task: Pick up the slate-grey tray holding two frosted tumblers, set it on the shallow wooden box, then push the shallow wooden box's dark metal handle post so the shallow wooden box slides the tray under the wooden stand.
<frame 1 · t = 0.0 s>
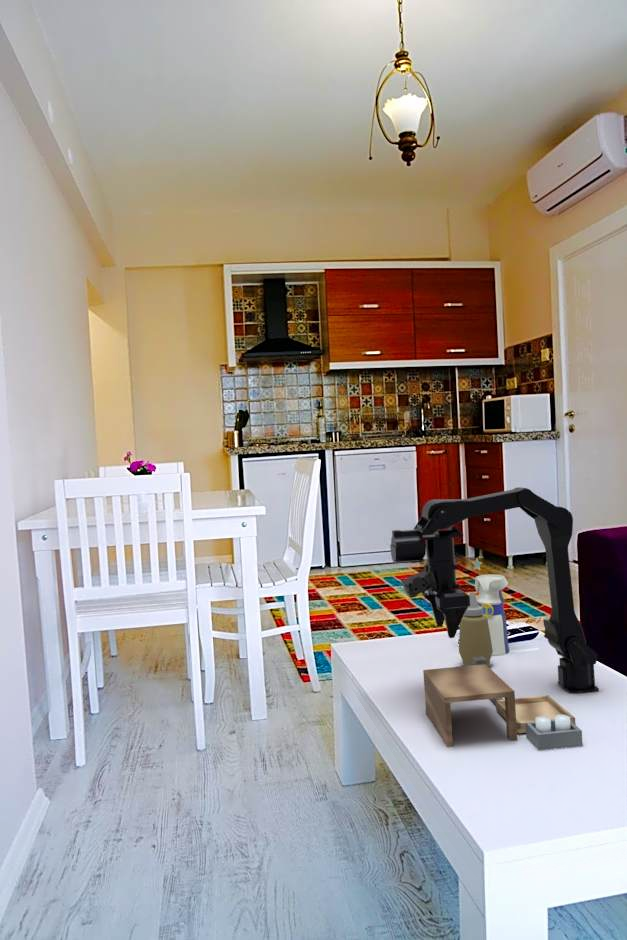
hand: (445, 631, 146), 15 cm above the table, fingers open, 9 cm apart
shallow wooden box: (518, 689, 141), point 3 cm above the table, slide at 0.0 cm
tray: (554, 742, 123), on the table
squeeze bottle: (476, 666, 167), on the table
spray bottle: (494, 652, 178), on the table
wooden stand: (469, 726, 132), on the table
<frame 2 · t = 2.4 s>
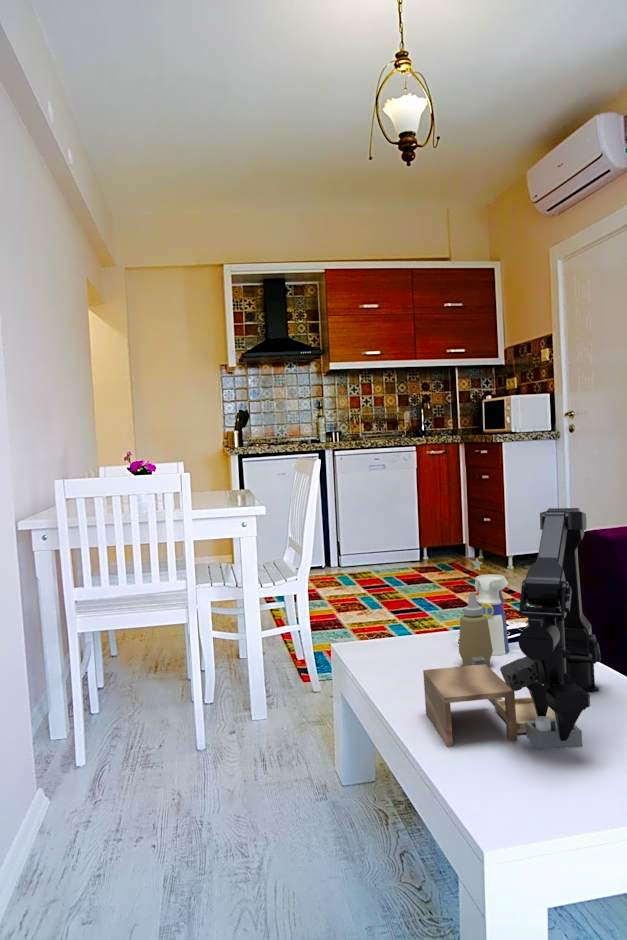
hand: (552, 729, 123), 2 cm above the table, fingers open, 9 cm apart
shallow wooden box: (517, 689, 141), point 3 cm above the table, slide at 0.2 cm, touching gripper
everything else where it was.
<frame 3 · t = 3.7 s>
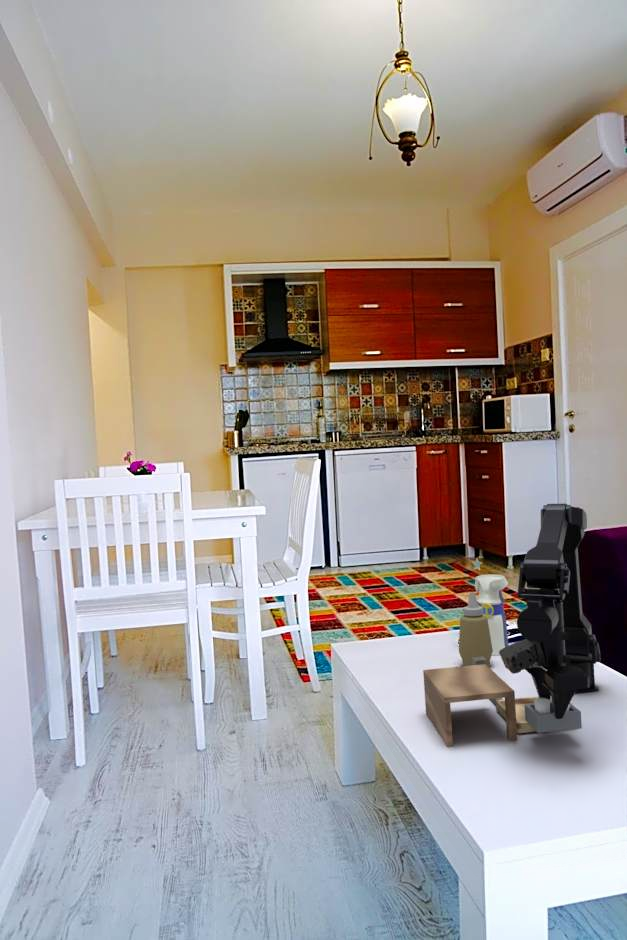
hand: (551, 712, 123), 5 cm above the table, fingers closed on tray, 6 cm apart
shallow wooden box: (518, 689, 141), point 3 cm above the table, slide at 0.0 cm
tray: (553, 724, 123), point 3 cm above the table, touching gripper
everything else where it was.
when the fingers open (4 cm above the table, at t = 6.2 s): tray stays where it is, resting on shallow wooden box.
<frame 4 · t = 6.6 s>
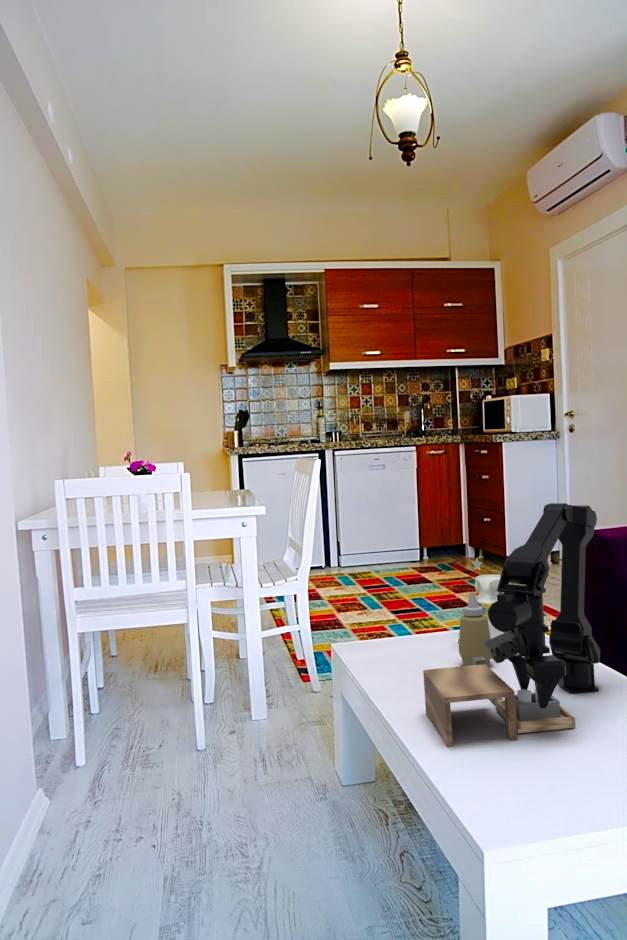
hand: (533, 699, 133), 4 cm above the table, fingers open, 9 cm apart
shallow wooden box: (518, 689, 141), point 3 cm above the table, slide at 0.0 cm, touching tray
tray: (534, 713, 133), point 1 cm above the table, touching shallow wooden box
everything else where it was.
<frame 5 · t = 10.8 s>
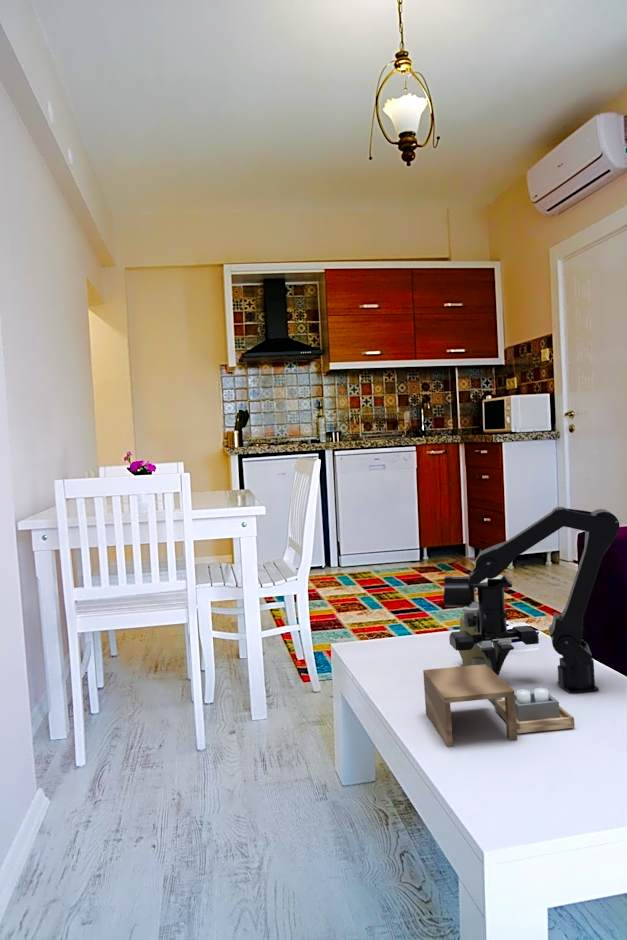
hand: (495, 675, 153), 2 cm above the table, fingers closed
shallow wooden box: (517, 689, 141), point 3 cm above the table, slide at 0.2 cm, touching gripper, tray
everything else where it was.
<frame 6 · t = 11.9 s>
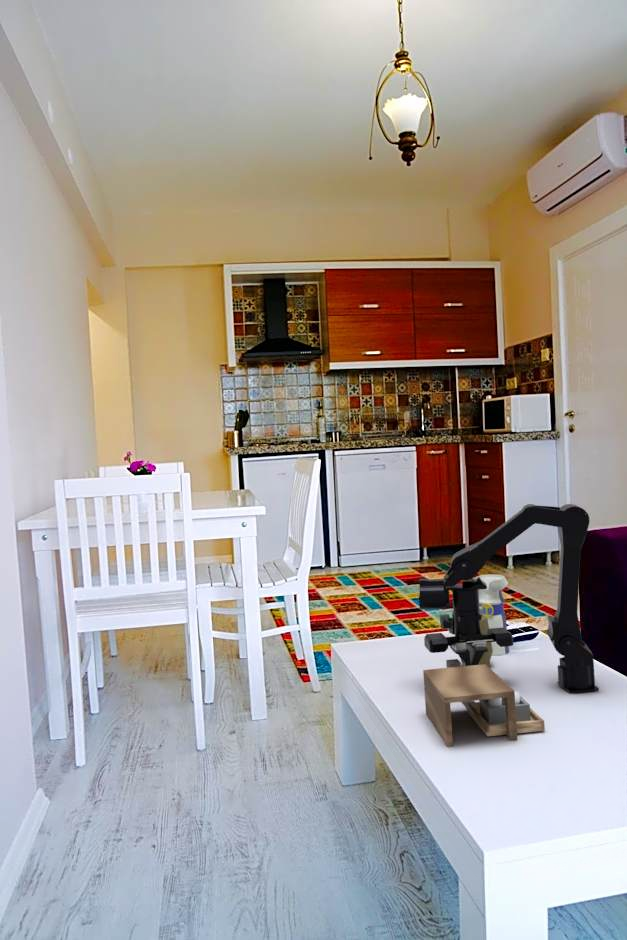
hand: (470, 678, 153), 2 cm above the table, fingers closed
shallow wooden box: (490, 692, 140), point 3 cm above the table, slide at 6.0 cm, touching gripper, tray
tray: (504, 716, 133), point 1 cm above the table, touching shallow wooden box
everything else where it was.
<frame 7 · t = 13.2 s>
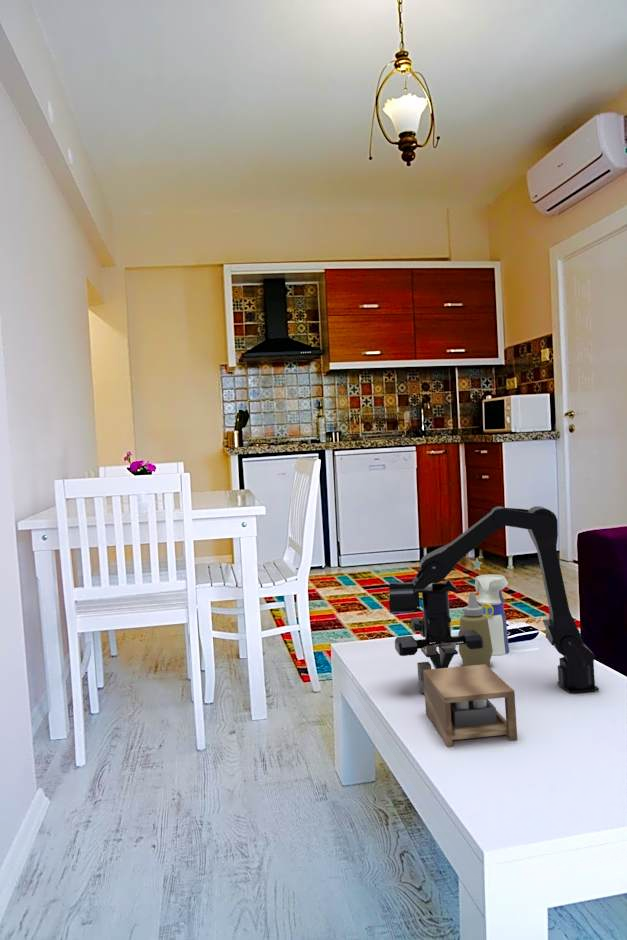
hand: (441, 680, 152), 2 cm above the table, fingers closed
shallow wooden box: (458, 695, 140), point 3 cm above the table, slide at 12.6 cm, touching gripper, tray
tray: (471, 720, 132), point 1 cm above the table, touching shallow wooden box
everything else where it was.
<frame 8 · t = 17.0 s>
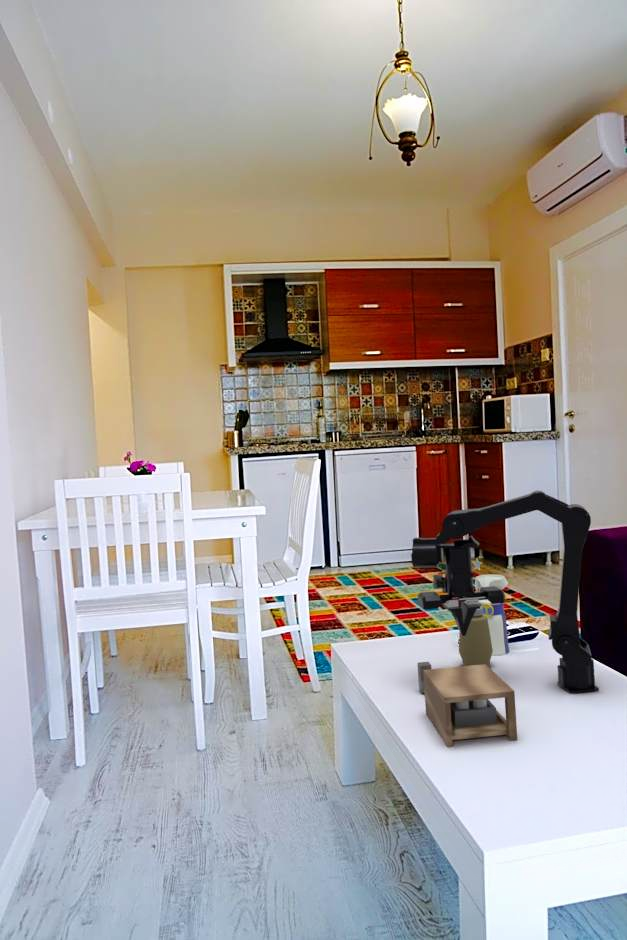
hand: (463, 635, 156), 11 cm above the table, fingers closed
shallow wooden box: (459, 695, 140), point 3 cm above the table, slide at 12.5 cm, touching tray
everything else where it was.
at the end: shallow wooden box slide at 12.5 cm; tray inside the target area (1.1 cm from its centre), point 1.1 cm above the table; tray tilted 0° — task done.
